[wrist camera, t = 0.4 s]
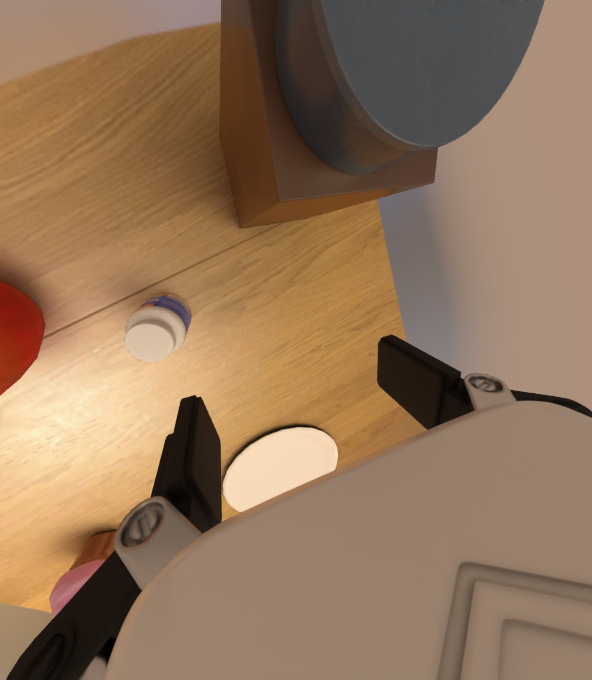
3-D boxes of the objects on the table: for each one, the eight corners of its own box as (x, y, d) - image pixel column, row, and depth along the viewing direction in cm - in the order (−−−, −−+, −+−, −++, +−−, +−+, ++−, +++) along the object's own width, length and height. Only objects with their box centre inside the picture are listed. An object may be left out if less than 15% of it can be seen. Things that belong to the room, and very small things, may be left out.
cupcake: (70, 530, 37) (24, 620, 28) (132, 515, 39) (107, 592, 31) (84, 560, 40) (48, 648, 31) (140, 544, 43) (121, 620, 34)
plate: (195, 498, 43) (194, 505, 42) (279, 404, 40) (280, 409, 39) (287, 518, 55) (288, 523, 54) (355, 447, 52) (358, 451, 51)
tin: (249, -122, 7) (282, -522, 3) (451, -81, 8) (617, -312, 5) (289, 185, 10) (327, 155, 7) (427, 170, 12) (514, 139, 8)
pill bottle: (159, 284, 27) (132, 302, 19) (200, 308, 30) (193, 334, 21) (136, 319, 28) (100, 352, 19) (178, 340, 30) (163, 377, 22)
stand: (219, 135, 24) (223, -164, 6) (297, 131, 26) (466, -106, 8) (240, 228, 28) (278, 202, 10) (307, 218, 30) (434, 182, 12)
